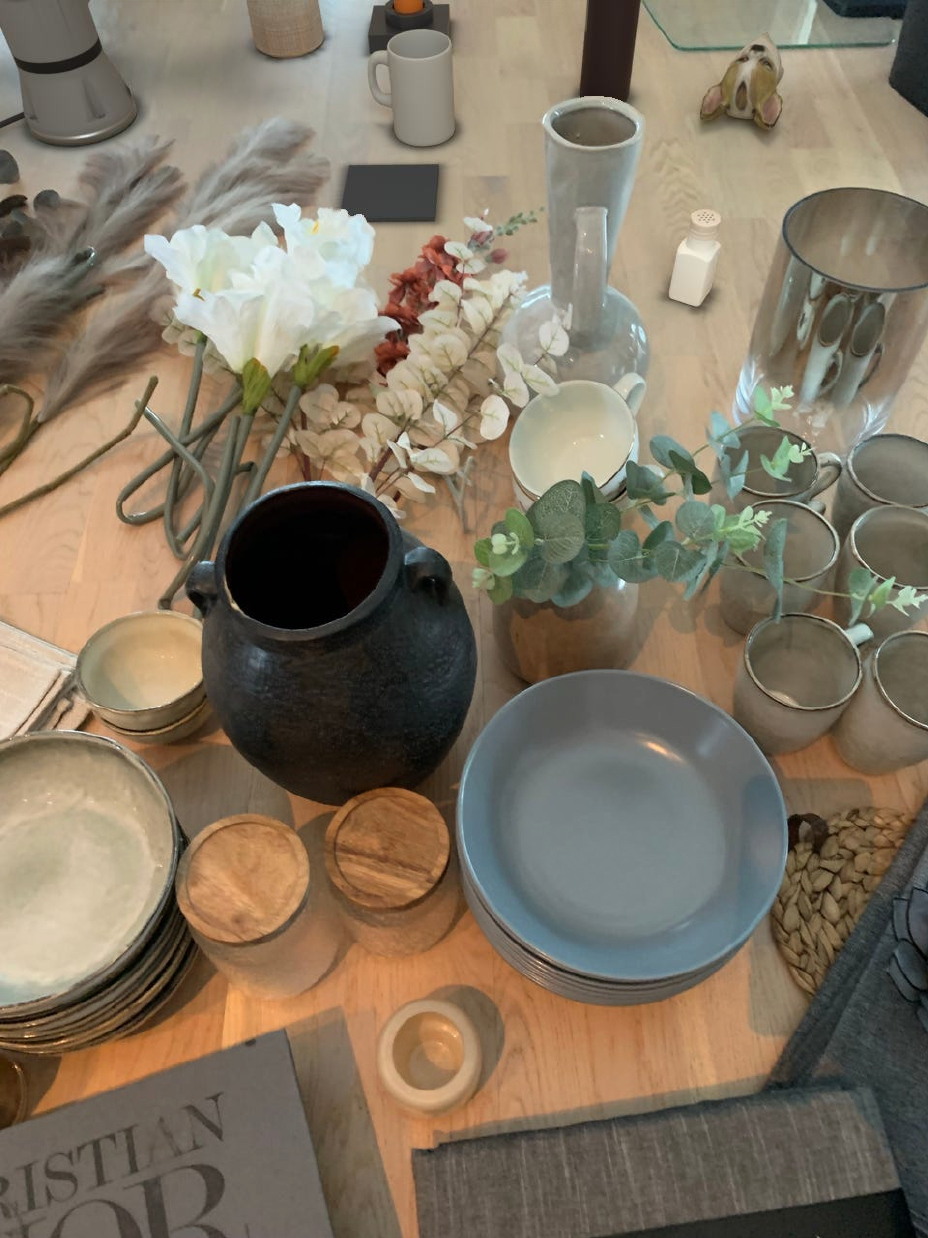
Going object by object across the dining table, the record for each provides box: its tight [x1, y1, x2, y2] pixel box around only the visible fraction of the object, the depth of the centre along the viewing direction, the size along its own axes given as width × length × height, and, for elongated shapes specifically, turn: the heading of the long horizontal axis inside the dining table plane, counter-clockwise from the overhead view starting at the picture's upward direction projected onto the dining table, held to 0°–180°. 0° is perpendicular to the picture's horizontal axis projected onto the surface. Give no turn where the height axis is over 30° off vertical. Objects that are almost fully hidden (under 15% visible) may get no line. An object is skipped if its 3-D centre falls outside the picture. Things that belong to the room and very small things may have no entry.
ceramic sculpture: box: [699, 31, 785, 131], centre depth 117 cm, size 11×9×15 cm
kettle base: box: [367, 0, 451, 55], centre depth 133 cm, size 12×10×4 cm
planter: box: [245, 0, 325, 59], centre depth 131 cm, size 11×11×10 cm
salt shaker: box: [668, 208, 722, 307], centre depth 95 cm, size 4×4×10 cm
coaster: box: [340, 163, 440, 222], centre depth 111 cm, size 12×12×1 cm
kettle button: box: [394, 0, 423, 13], centre depth 131 cm, size 4×4×2 cm
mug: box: [367, 29, 456, 148], centre depth 116 cm, size 12×8×11 cm
